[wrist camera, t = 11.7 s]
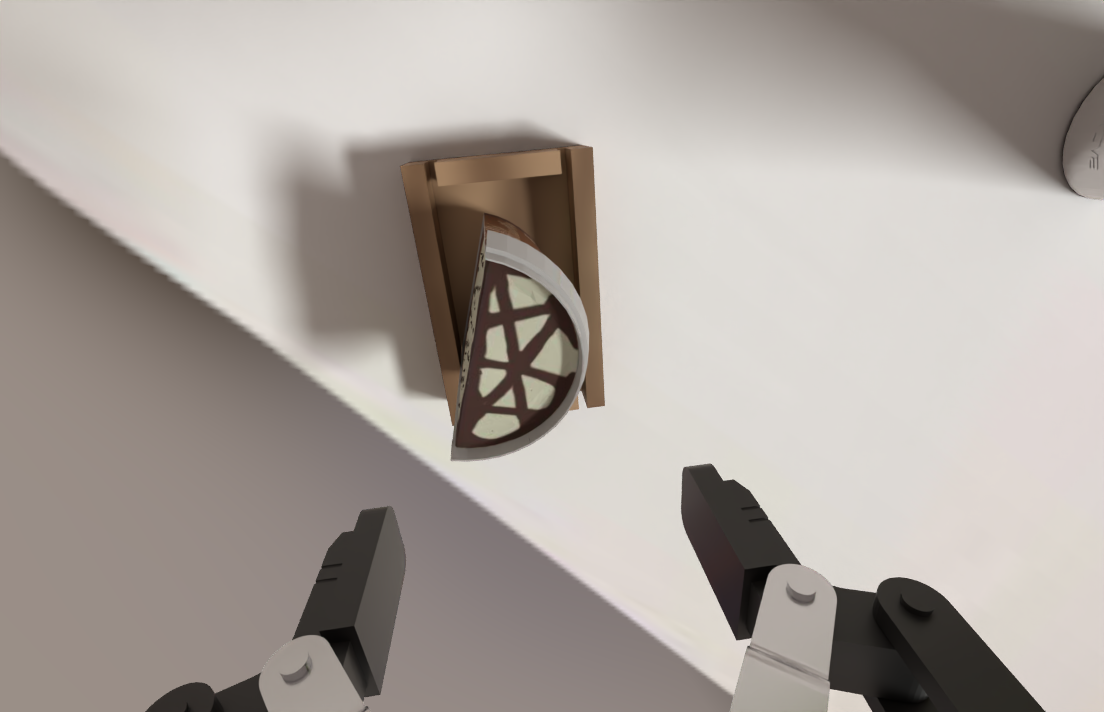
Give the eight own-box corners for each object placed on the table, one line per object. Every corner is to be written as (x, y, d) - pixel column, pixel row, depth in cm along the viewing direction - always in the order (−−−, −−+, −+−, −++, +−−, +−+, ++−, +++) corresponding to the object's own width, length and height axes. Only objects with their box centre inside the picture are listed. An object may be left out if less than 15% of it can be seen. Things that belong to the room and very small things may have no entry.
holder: (582, 145, 30) (592, 147, 27) (595, 383, 37) (604, 405, 34) (409, 162, 30) (400, 166, 27) (455, 401, 36) (452, 425, 34)
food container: (545, 377, 36) (562, 478, 27) (459, 365, 35) (449, 468, 26) (590, 208, 30) (630, 272, 21) (487, 186, 29) (487, 245, 20)
